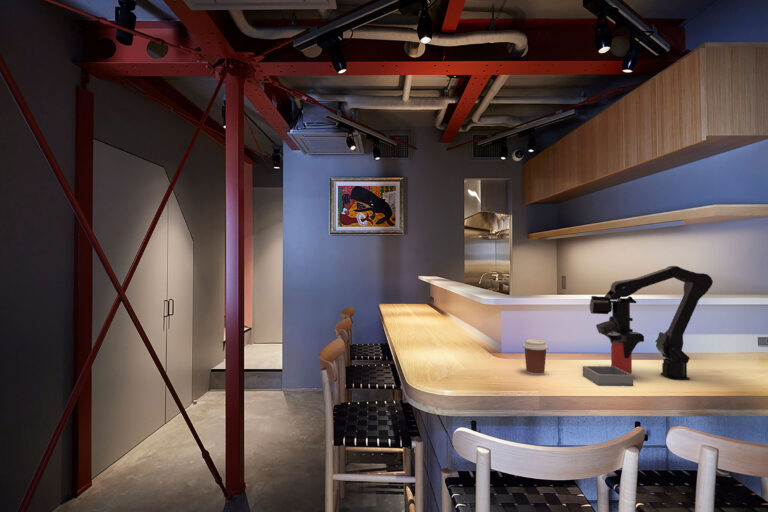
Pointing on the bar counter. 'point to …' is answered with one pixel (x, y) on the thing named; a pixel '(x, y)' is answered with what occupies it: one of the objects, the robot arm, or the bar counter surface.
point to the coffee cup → (535, 356)
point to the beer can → (620, 357)
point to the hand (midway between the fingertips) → (621, 356)
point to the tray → (607, 376)
